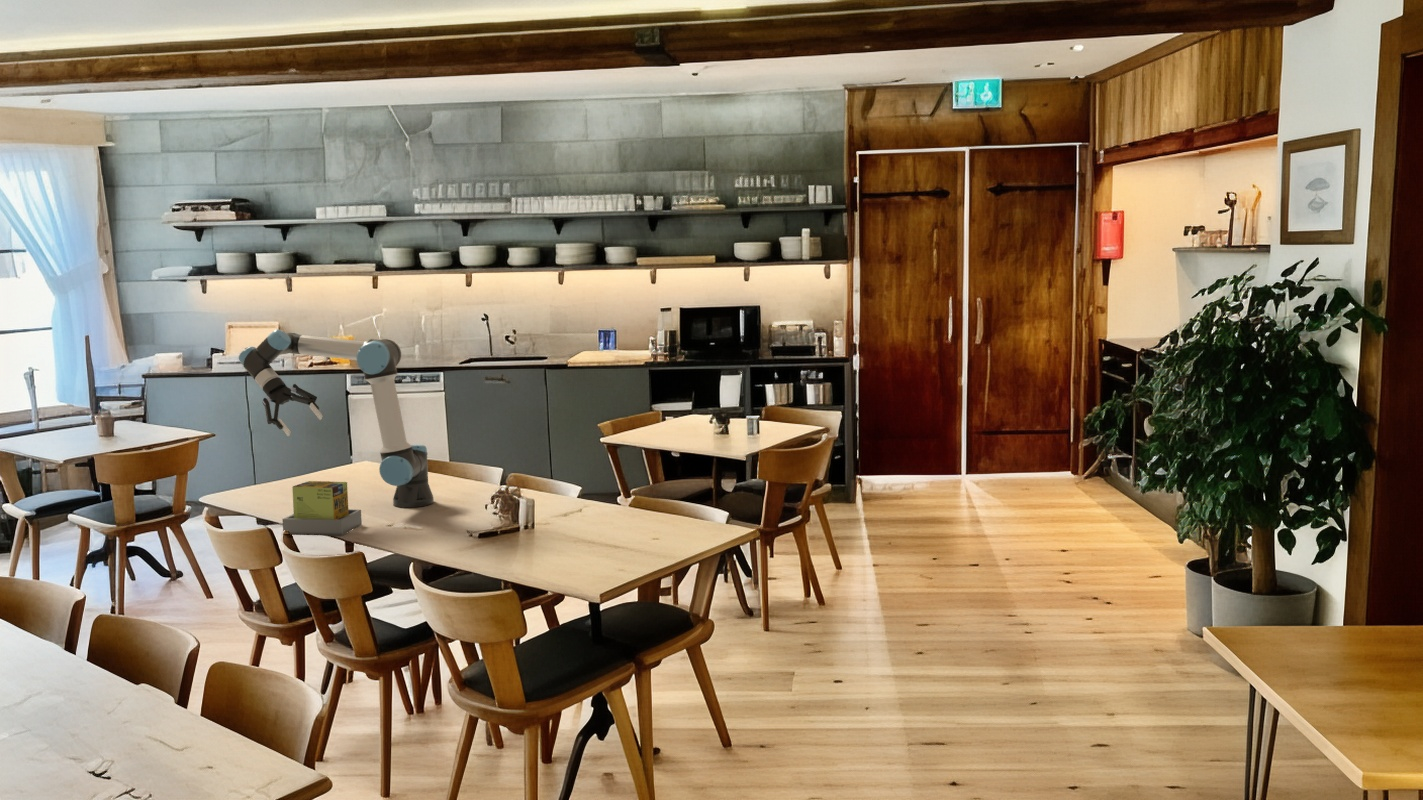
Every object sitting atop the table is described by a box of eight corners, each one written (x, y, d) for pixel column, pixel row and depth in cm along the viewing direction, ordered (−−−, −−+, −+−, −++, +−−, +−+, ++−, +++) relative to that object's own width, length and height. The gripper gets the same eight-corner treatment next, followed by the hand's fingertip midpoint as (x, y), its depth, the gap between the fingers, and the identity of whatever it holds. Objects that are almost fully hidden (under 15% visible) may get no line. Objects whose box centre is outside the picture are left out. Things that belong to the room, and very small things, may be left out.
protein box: (334, 531, 370) (332, 487, 368) (293, 530, 373) (291, 486, 371) (350, 524, 380) (348, 481, 379) (310, 523, 383) (307, 480, 381)
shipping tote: (361, 524, 384) (361, 509, 383) (341, 535, 368) (341, 520, 367) (305, 523, 386) (304, 508, 385) (283, 534, 370) (282, 519, 369)
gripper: (298, 374, 410) (332, 416, 407) (239, 402, 393) (274, 446, 390) (301, 364, 404) (336, 406, 402) (241, 391, 388) (277, 435, 385)
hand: (305, 425), depth 396 cm, fingers open, 13 cm apart
